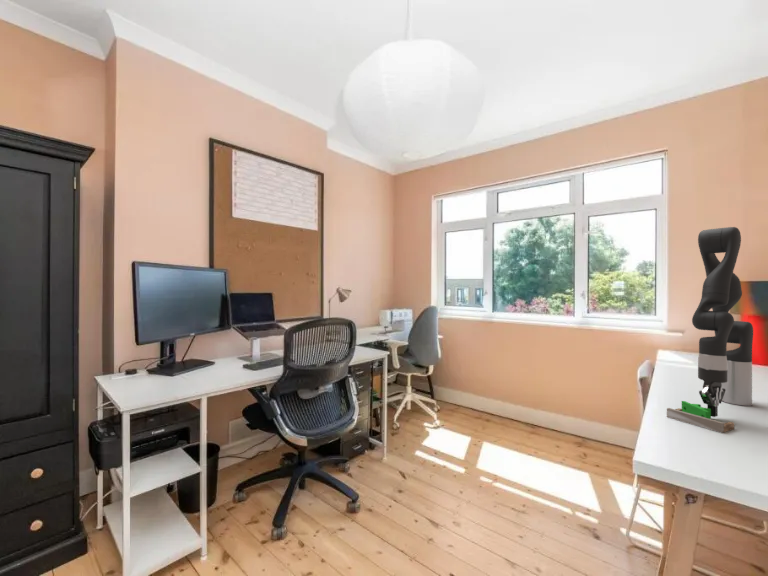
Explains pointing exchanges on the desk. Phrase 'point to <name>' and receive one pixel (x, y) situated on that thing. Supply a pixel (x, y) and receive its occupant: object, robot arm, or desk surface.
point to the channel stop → (699, 420)
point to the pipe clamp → (696, 409)
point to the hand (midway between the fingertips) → (712, 415)
